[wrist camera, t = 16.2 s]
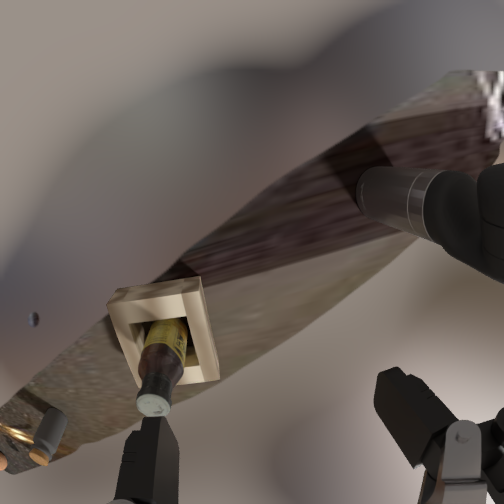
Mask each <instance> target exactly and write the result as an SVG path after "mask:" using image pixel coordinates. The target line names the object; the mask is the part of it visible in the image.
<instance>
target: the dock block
mask: <svg viewBox="0 0 504 504" xmlns="http://www.w3.org/2000/svg"><path fill="white" fill-rule="evenodd" d="M106 305H107V308H108V311H109V314H110V317H111V320H112V323H113V326H114V328H115V331H116V334H117V337H118V339H119V342H120V345H121V347H122V350H123V352H124V355H125V357H126V360H127V362H128V364H129V367H130V369H131V372H132V374H133V376H134V378H135V381H136V383H137V385H138V387H139V388H141V386H142V381H141V378H140V377H139V374H138V364H139V361H140V358H141V353H142V350H143V347H144V344H145V342H146V339H147V337H146V334H145V331H144V328H143V325H142V322H147V321H154V320H162V319H169V318H176V317H183V316H187V320H188V324H189V328H190V331H191V335H192V339H193V343H194V346H189V347H186V356H185V365H184V373H183V376H182V378H181V379H180V380H179V382H178V383H177V384H176V385H182V384H190V383H199V382H206V381H214V380H220V375H219V361H218V355H217V351H216V347H215V343H214V338H213V334H212V330H211V325H210V321H209V316H208V312H207V307H206V302H205V298H204V293H203V288H202V283H201V278H200V276H196V277H190V278H184V279H177V280H171V281H165V282H158V283H152V284H146V285H139V286H132V287H126V288H119V289H117V290H116V291H115V293H114V294H113V296H112V297H111V298H110V300H109V301H108V303H107V304H106Z"/></svg>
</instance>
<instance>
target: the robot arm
mask: <svg viewBox="0 0 504 504" xmlns="http://www.w3.org/2000/svg"><path fill="white" fill-rule="evenodd" d="M356 200H357V204H358V206H359V208H360V210H361V212H362V213H363V214H364V215H365V216H367V217H368V218H370V219H373V220H375V221H378V222H381V223H383V224H386V225H389V226H391V227H394V228H397V229H400V230H402V231H405V232H408V233H410V234H413V235H416V236H418V237H421V238H424V239H426V240H429V241H431V242H434V243H436V244H439V245H441V246H442V247H443V248H444V249H445V251H446V252H447V253H448V254H449V255H451V256H452V257H454V258H456V259H457V260H459V261H461V262H463V263H465V264H467V265H469V266H470V267H472V268H474V269H476V270H477V271H479V272H481V273H483V274H484V275H486V276H488V277H490V278H492V279H494V280H496V281H498V282H500V283H502V284H504V163H502V164H496V165H492V166H490V167H488V168H486V169H484V170H483V171H482V172H481V173H480V175H479V177H478V180H477V182H476V181H475V180H474V179H473V178H472V177H471V176H470V175H468V174H466V173H464V172H460V171H451V170H438V169H423V168H406V167H385V166H375V167H372V168H369V169H368V170H366V171H365V172H364V173H363V174H362V175H361V177H360V179H359V181H358V183H357V187H356ZM374 407H375V410H376V412H377V414H378V416H379V417H380V419H381V420H382V422H383V423H384V425H385V426H386V428H387V429H388V431H389V432H390V434H391V435H392V437H393V438H394V439H395V441H396V443H397V444H398V446H399V447H400V449H401V451H402V452H403V454H404V455H405V457H406V458H407V460H408V461H409V463H410V464H411V466H412V467H413V469H415V468H417V467H419V466H421V465H424V466H425V468H426V470H425V472H424V477H423V482H422V486H421V491H420V495H419V499H418V503H417V504H486V495H487V491H488V493H489V494H490V496H491V498H492V499H493V501H494V502H495V504H504V408H502V409H501V410H500V411H499V412H498V414H497V416H496V418H495V419H492V420H489V421H486V422H483V423H480V424H475V423H474V422H472V421H469V420H458V419H457V418H456V417H455V416H454V414H452V412H451V411H450V410H449V409H448V408H447V407H446V406H445V404H444V403H443V402H442V401H441V400H440V399H439V398H438V397H437V396H435V393H433V391H432V390H431V389H429V387H428V386H427V385H426V384H425V383H424V382H423V380H422V379H420V378H418V377H415V376H414V375H412V374H410V375H407V376H406V374H405V373H404V372H403V371H402V370H401V369H400V368H399V367H393V368H391V369H388V370H385V371H382V372H380V373H379V374H378V376H377V382H376V389H375V394H374ZM123 452H124V454H123V456H122V463H121V466H120V471H119V476H118V482H117V487H116V493H115V497H114V499H113V501H111V502H109V503H107V504H178V485H179V447H178V442H177V440H176V438H175V436H174V434H173V432H172V430H171V428H170V426H169V424H168V422H167V420H166V418H165V417H164V416H154V417H144V418H143V420H142V426H141V430H140V431H132V433H131V434H130V436H129V437H128V439H127V440H126V442H125V446H124V451H123Z"/></svg>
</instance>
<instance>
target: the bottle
mask: <svg viewBox="0 0 504 504" xmlns="http://www.w3.org/2000/svg"><path fill="white" fill-rule="evenodd" d="M67 422H68V419H67V417H66V416H65V415H64V414H63V413H62V412H61V411H59V410H58V409H55V408H49V409H48V410H47V411H46V413H45V415H44V417H43V419H42V421H41V423H40V425H39V427H38V429H37V431H36V433H35V436H34V438H33V441H34V443H35V444H32V446H31V452H30V453H29V455H30V457H31V458H32V459H33V460H34V461H35V462H37V463H38V464H40V465H43V466H47V465H48V461H50V460H51V458H52V455H51V454H54V453H55V452H56V450H57V447H58V445H59V442H60V440H61V437H62V435H63V432H64V430H65V427H66V425H67Z"/></svg>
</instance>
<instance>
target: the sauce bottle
mask: <svg viewBox="0 0 504 504" xmlns="http://www.w3.org/2000/svg"><path fill="white" fill-rule="evenodd" d="M187 337H188V331H187V327H186V324H185V322H184V320H183V319H182V318H180V317H176V318H169V319H162V320H154V322H153V323H152V325H151V328H150V331H149V333H148V336H147V339H146V342H145V344H144V347H143V350H142V353H141V358H140V361H139V364H138V374H139V377H140V378H141V381H142V386H141V390H140V391H139V392H138V394H137V399H136V405H137V408H138V410H139V411H140V412H141V413H143V414H144V415H146V416H148V417H154V416H166V415H167V414H168V413H169V412H170V409H171V404H172V401H171V392H172V389H173V388H174V387H175V386H176V384H177V383H178V382H179V380H180V379H181V378H182V376H183V373H184V365H185V356H186V346H187Z"/></svg>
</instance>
